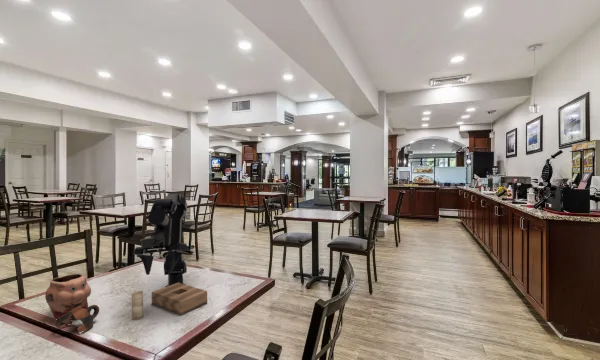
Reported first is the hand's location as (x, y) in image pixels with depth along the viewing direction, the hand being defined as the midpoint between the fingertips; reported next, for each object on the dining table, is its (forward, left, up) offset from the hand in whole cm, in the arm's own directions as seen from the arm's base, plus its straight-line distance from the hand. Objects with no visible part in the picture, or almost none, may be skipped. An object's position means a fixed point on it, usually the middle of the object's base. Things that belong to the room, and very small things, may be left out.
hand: (158, 273), depth 107 cm
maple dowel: (-5, -5, -15) cm, 17 cm away
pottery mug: (-15, -19, -16) cm, 29 cm away
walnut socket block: (-2, +10, -15) cm, 18 cm away
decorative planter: (-29, -17, -15) cm, 37 cm away
